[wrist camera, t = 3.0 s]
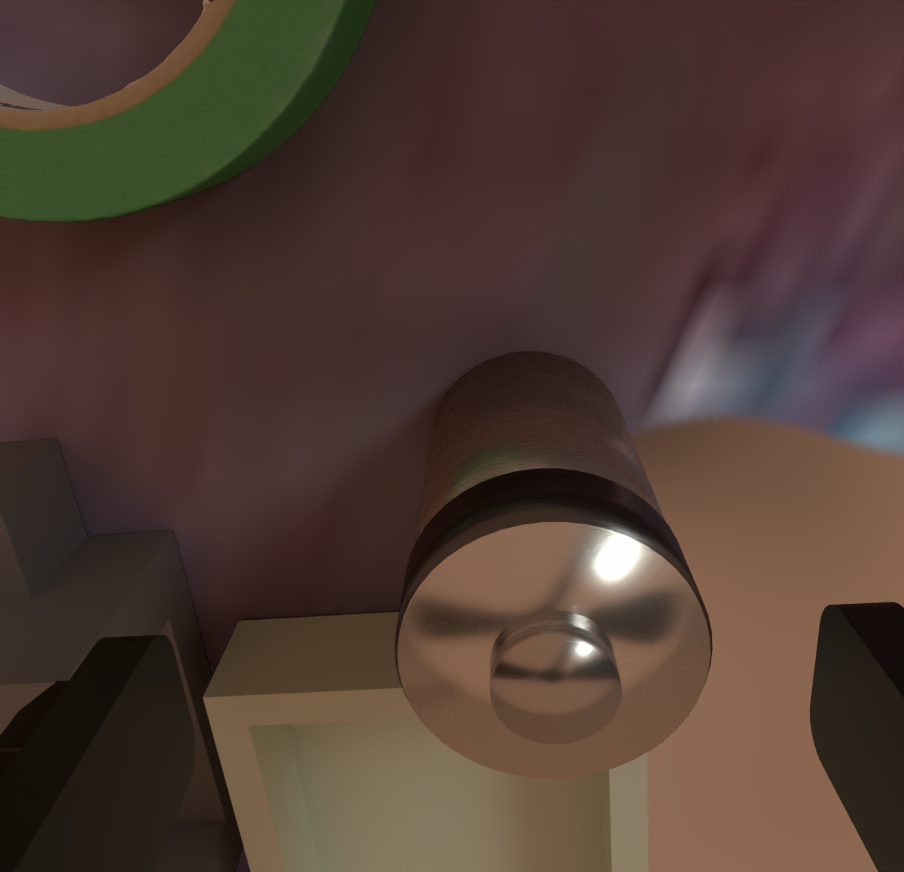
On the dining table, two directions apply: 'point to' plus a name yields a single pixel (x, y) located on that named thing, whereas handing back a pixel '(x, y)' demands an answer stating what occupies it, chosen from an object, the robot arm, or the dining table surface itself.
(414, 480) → the dining table surface
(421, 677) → the cell
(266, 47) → the tape roll
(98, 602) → the cradle
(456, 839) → the trough
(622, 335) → the dining table surface
